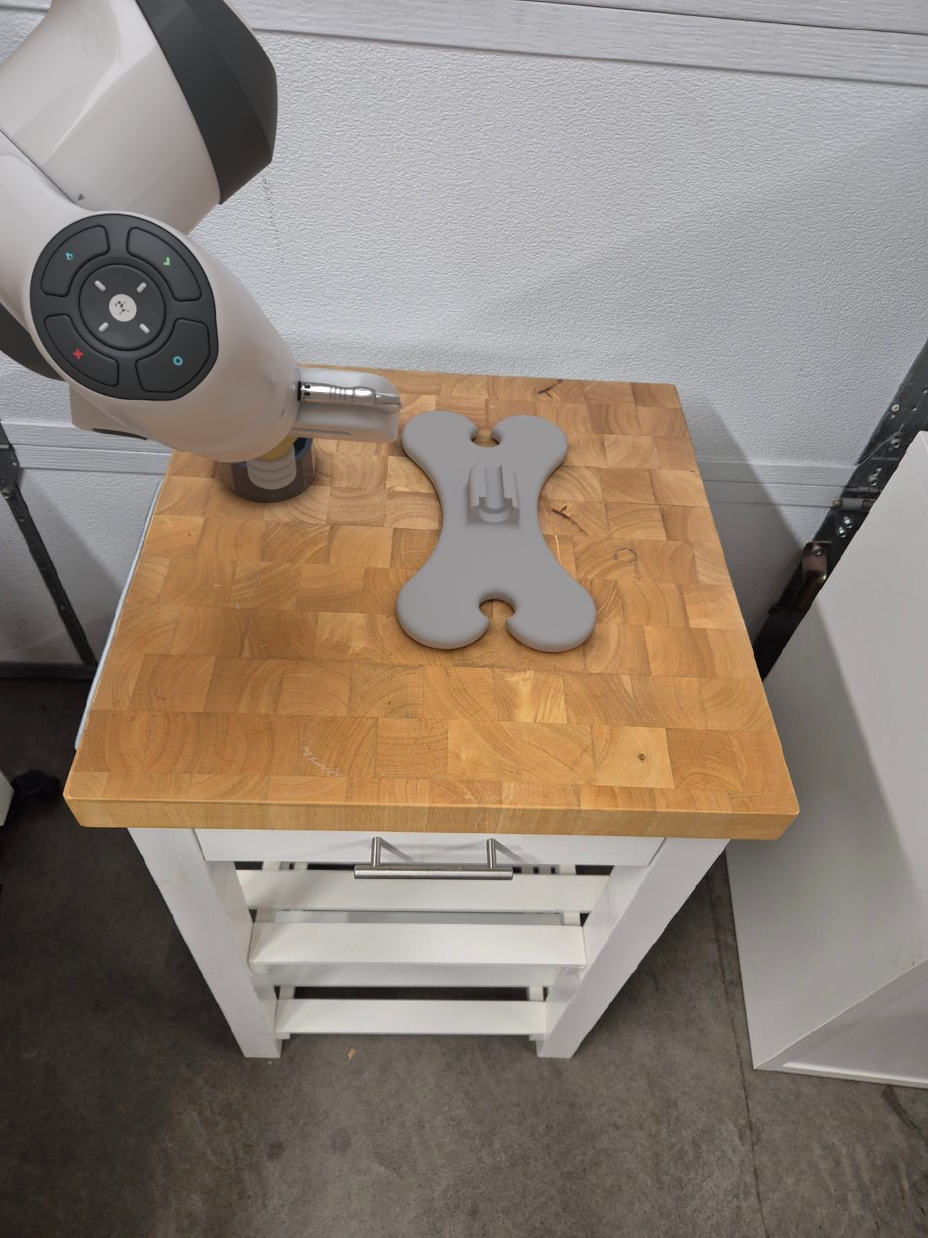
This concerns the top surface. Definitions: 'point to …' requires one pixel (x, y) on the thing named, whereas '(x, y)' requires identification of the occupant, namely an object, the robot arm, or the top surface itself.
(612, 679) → the top surface
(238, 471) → the socket
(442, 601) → the holder
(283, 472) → the light bulb
